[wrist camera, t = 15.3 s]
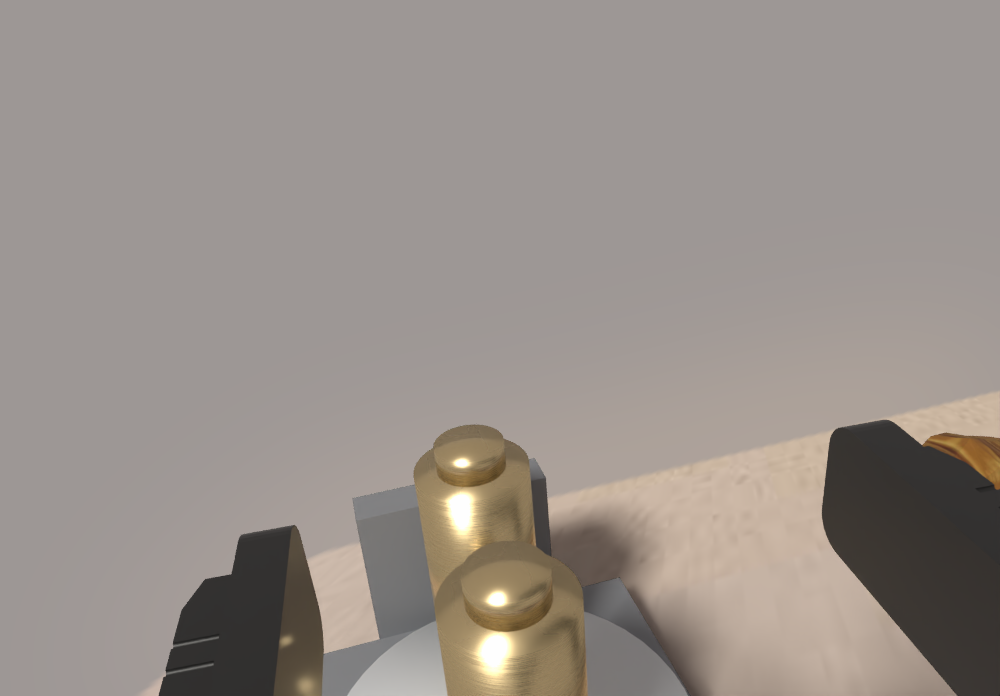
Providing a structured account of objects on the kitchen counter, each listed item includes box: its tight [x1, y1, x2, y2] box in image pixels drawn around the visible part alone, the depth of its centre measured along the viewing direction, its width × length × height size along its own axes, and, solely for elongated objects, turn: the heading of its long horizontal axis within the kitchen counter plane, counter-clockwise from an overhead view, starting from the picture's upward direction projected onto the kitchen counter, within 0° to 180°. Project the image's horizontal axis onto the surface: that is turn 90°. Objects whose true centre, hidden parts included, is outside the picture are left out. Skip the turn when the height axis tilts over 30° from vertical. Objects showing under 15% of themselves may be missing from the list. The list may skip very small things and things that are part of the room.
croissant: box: [922, 433, 1000, 490], centre depth 53 cm, size 14×7×5 cm, turn 123°
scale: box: [322, 458, 691, 696], centre depth 35 cm, size 18×21×11 cm
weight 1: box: [414, 425, 536, 608], centre depth 36 cm, size 5×5×13 cm
